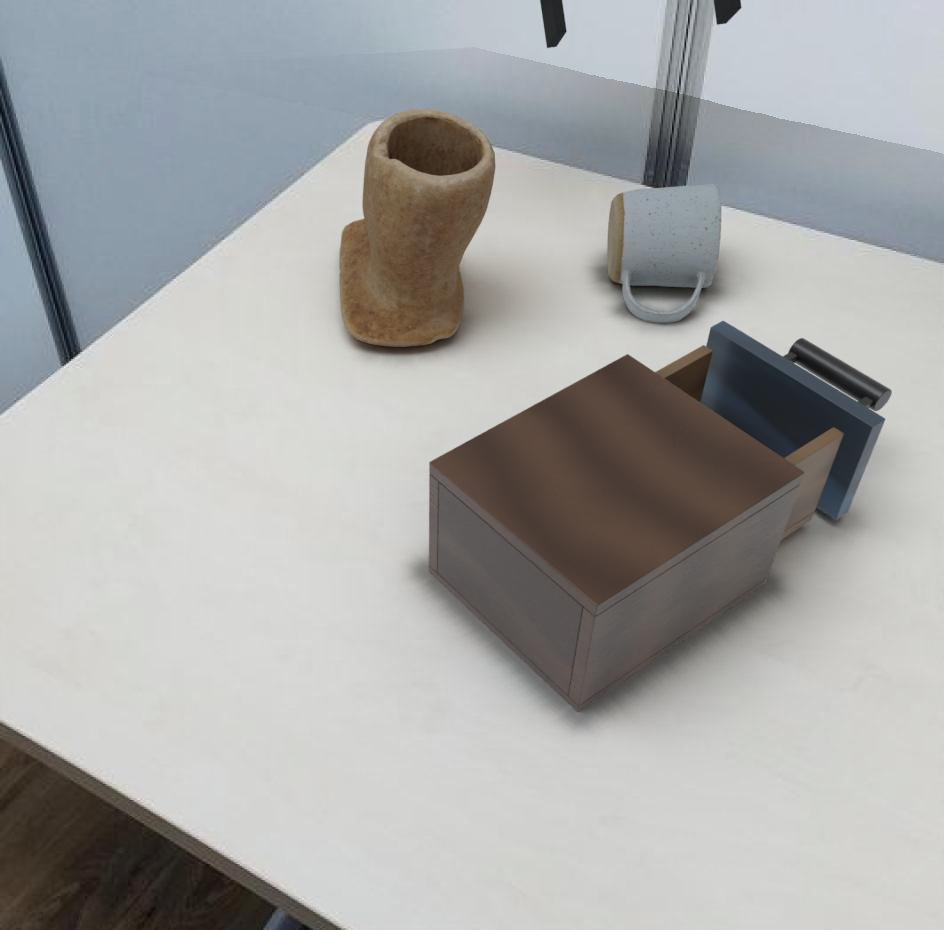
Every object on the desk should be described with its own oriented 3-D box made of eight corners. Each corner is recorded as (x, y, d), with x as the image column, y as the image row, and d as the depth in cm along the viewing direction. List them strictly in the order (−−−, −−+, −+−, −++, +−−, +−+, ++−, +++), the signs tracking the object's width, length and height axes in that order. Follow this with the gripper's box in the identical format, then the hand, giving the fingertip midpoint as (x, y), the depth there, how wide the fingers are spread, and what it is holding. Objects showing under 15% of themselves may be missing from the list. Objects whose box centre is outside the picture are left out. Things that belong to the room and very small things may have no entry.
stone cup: (491, 356, 86) (502, 173, 75) (337, 360, 87) (324, 180, 76) (480, 245, 96) (488, 69, 85) (341, 250, 97) (331, 76, 86)
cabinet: (608, 468, 78) (627, 353, 70) (764, 587, 70) (805, 472, 63) (428, 574, 72) (428, 461, 65) (577, 715, 65) (597, 605, 57)
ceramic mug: (601, 251, 95) (612, 166, 89) (700, 251, 94) (719, 165, 88) (608, 329, 88) (621, 243, 82) (715, 330, 87) (736, 243, 81)
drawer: (755, 381, 81) (781, 287, 75) (903, 475, 75) (945, 380, 69) (545, 504, 75) (556, 412, 69) (687, 620, 68) (713, 529, 62)
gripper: (740, -250, 88) (776, 28, 90) (430, -214, 86) (473, 69, 88) (787, -321, 81) (824, -17, 83) (448, -283, 79) (494, 28, 81)
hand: (643, 28), depth 85 cm, fingers open, 13 cm apart
